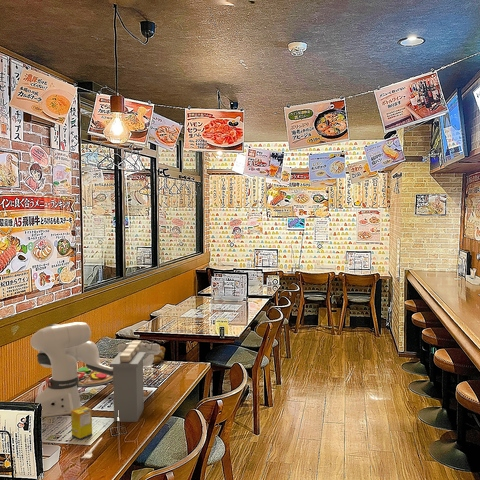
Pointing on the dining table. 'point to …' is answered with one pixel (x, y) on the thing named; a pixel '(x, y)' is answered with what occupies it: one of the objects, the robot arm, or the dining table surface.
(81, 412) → the supplement box
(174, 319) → the dining table surface
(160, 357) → the bread roll
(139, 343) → the birch bar
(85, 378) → the toy pizza
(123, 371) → the charcoal stand
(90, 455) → the fork
